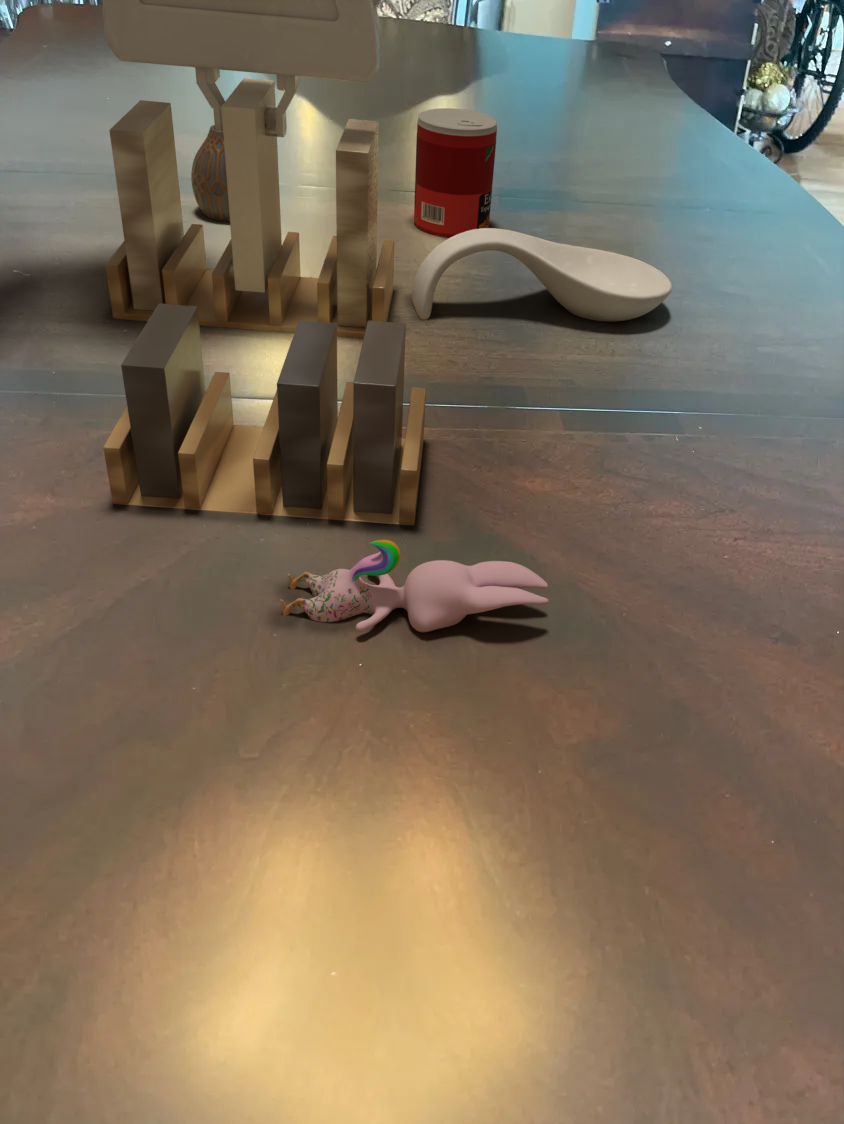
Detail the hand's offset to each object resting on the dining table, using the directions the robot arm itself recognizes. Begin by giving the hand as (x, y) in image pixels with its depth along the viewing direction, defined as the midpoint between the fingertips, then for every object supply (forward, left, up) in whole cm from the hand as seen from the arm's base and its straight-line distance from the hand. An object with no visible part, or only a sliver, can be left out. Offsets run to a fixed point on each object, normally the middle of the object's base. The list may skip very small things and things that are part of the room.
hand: (251, 133), depth 83 cm
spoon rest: (+25, +4, -15) cm, 29 cm away
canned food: (+16, +24, -15) cm, 32 cm away
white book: (0, 0, -11) cm, 11 cm away
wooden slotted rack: (0, 0, -14) cm, 14 cm away
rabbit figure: (+16, -42, -15) cm, 47 cm away
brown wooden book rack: (+6, -28, -14) cm, 32 cm away
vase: (-7, +22, -15) cm, 27 cm away
